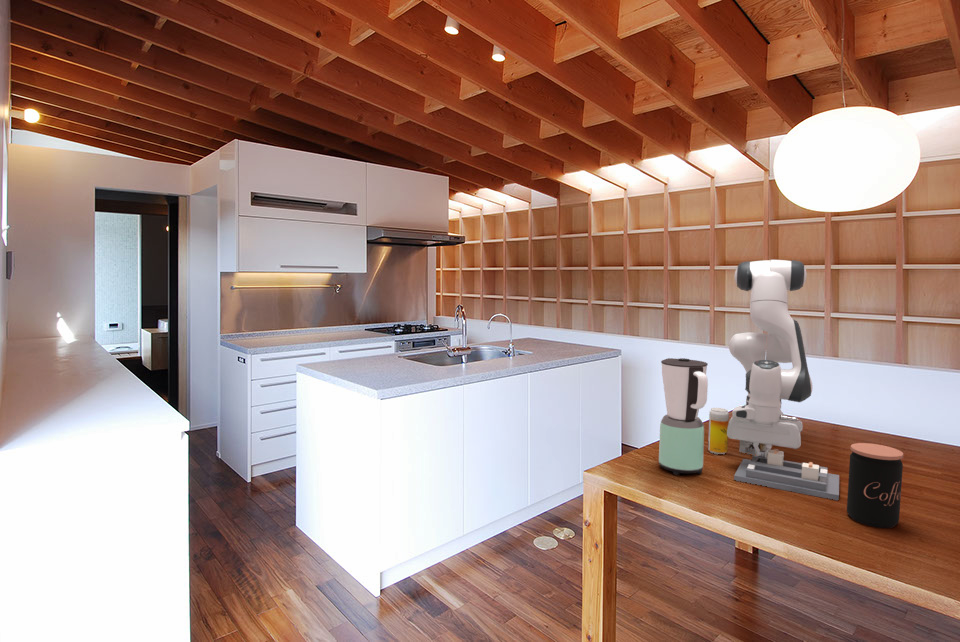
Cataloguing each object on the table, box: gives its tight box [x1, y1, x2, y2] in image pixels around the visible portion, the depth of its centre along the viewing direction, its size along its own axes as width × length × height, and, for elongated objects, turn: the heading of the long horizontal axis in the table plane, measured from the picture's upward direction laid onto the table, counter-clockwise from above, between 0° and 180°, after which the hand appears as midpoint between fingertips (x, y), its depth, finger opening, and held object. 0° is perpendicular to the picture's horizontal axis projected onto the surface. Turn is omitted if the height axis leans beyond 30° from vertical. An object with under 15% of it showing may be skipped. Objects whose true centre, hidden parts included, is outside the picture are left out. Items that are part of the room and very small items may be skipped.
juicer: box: [658, 357, 709, 476], centre depth 168 cm, size 19×13×35 cm
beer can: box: [707, 407, 730, 455], centre depth 186 cm, size 6×6×15 cm
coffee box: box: [739, 403, 767, 456], centre depth 187 cm, size 9×6×16 cm
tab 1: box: [767, 448, 785, 466], centre depth 166 cm, size 4×4×6 cm
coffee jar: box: [846, 442, 904, 529], centre depth 135 cm, size 11×11×18 cm
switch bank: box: [733, 455, 840, 501], centre depth 161 cm, size 18×26×4 cm
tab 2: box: [801, 461, 820, 481], centre depth 154 cm, size 4×4×6 cm
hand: (762, 456), depth 168 cm, fingers closed
